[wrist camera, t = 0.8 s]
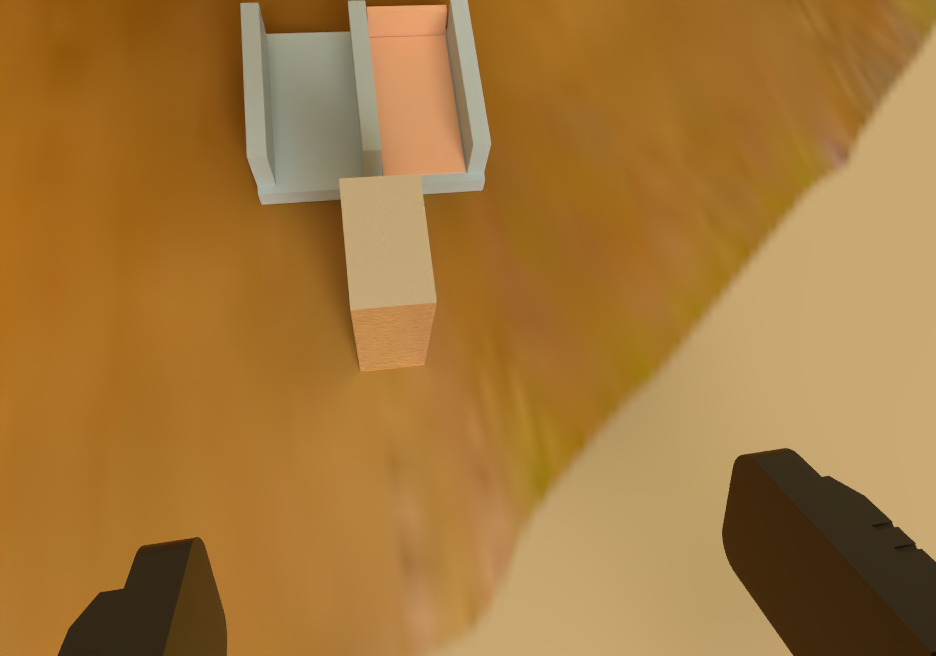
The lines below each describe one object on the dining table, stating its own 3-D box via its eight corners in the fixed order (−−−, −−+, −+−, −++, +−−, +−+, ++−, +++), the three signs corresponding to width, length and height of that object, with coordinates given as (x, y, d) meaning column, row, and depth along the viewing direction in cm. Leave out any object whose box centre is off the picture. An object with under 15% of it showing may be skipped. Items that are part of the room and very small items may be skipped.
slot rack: (482, 190, 40) (492, 151, 37) (261, 204, 39) (247, 165, 35) (458, 42, 44) (465, -9, 40) (254, 48, 42) (240, -5, 38)
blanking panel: (424, 365, 37) (436, 302, 27) (360, 371, 36) (350, 310, 27) (412, 265, 38) (420, 173, 29) (351, 270, 38) (338, 178, 29)
